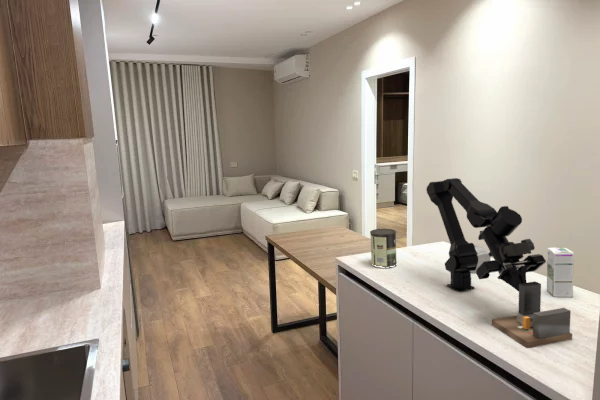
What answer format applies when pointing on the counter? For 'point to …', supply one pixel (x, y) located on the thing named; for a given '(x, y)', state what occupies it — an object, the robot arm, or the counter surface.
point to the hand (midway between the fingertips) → (526, 294)
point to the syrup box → (560, 272)
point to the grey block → (481, 256)
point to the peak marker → (526, 322)
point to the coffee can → (383, 247)
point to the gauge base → (522, 335)
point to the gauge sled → (529, 301)
